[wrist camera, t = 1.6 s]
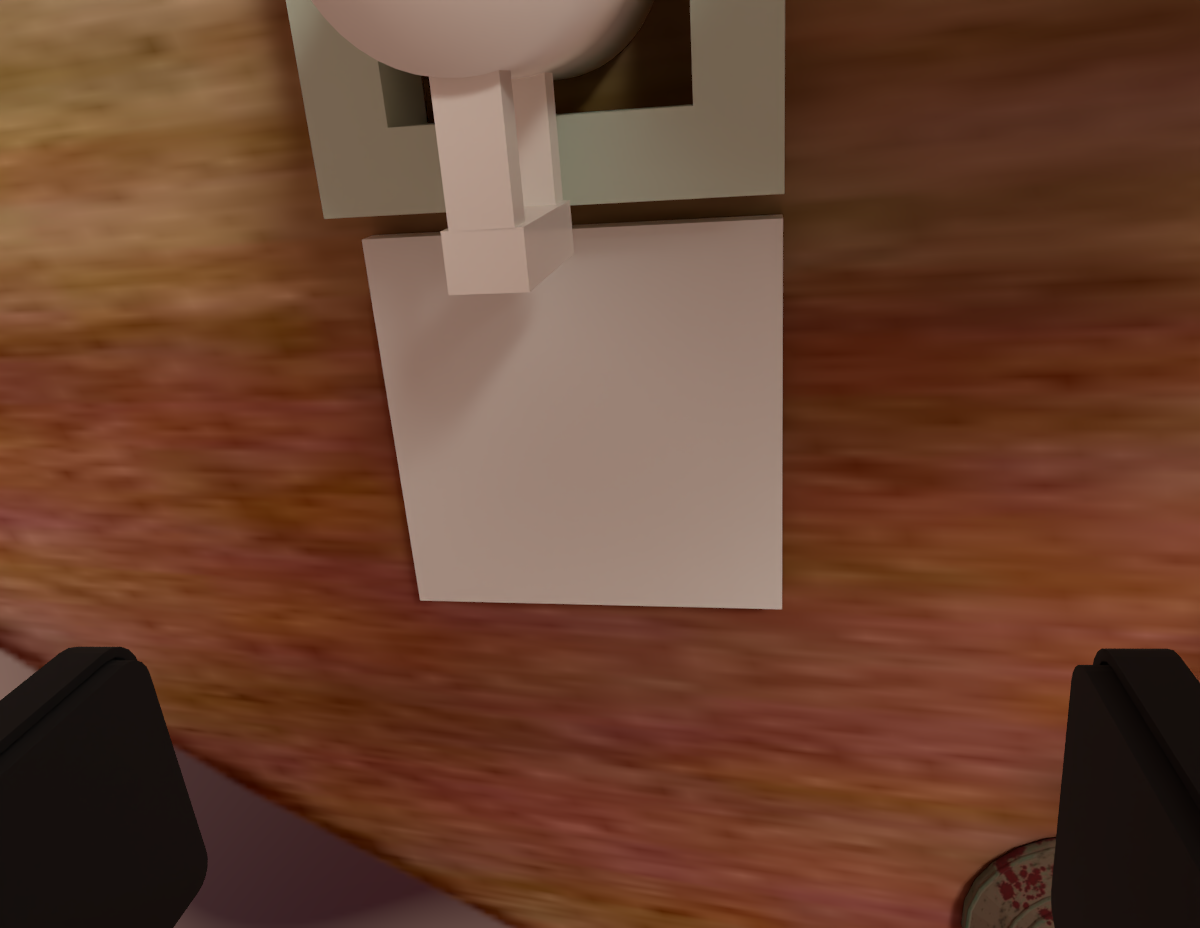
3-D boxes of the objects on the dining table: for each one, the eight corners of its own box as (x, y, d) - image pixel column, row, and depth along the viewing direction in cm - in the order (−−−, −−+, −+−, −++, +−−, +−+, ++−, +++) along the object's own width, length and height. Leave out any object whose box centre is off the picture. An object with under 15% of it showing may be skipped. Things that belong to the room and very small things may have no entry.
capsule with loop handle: (415, -219, 27) (222, -387, 17) (655, -253, 26) (589, -453, 16) (470, 237, 32) (342, 303, 22) (674, 227, 30) (631, 292, 21)
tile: (373, 235, 32) (361, 239, 31) (782, 214, 30) (782, 218, 29) (428, 587, 37) (420, 600, 36) (781, 595, 35) (782, 609, 34)
